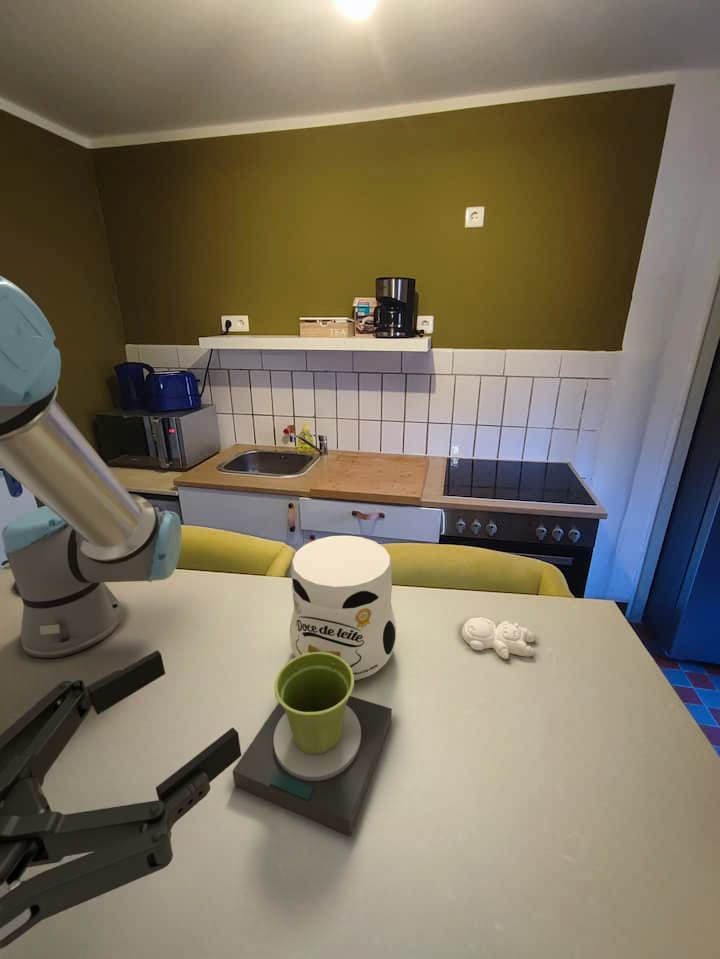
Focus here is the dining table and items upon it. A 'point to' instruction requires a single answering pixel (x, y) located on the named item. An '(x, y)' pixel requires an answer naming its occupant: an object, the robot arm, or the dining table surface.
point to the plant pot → (315, 699)
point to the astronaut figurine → (498, 637)
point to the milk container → (343, 602)
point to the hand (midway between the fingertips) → (195, 697)
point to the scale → (317, 766)
